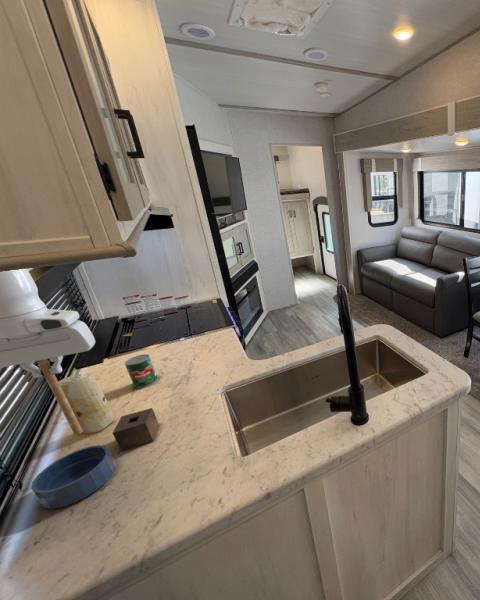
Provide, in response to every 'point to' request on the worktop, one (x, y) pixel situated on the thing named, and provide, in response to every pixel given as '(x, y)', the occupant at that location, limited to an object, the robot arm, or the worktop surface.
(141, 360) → the canned tomato
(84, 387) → the food model
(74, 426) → the stick
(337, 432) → the worktop surface
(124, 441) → the holder
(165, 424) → the worktop surface
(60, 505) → the bowl
